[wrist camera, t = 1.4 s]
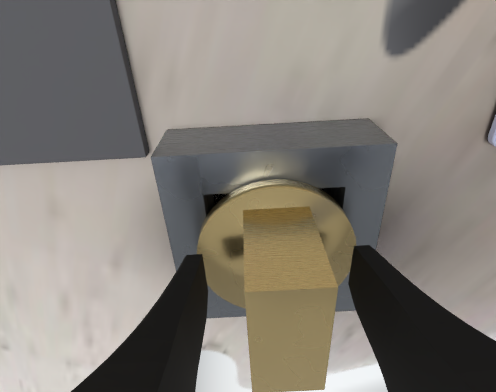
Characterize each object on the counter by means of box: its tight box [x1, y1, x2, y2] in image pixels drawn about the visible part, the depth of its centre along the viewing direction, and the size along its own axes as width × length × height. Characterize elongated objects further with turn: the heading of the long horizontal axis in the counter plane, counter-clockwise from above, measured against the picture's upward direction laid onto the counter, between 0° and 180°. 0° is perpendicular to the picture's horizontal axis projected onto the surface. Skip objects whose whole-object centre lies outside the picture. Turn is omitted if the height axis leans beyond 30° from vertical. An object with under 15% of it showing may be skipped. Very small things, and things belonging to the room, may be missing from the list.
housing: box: [151, 119, 397, 318], centre depth 15 cm, size 9×9×3 cm
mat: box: [0, 0, 149, 165], centre depth 12 cm, size 9×9×1 cm
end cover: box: [197, 179, 356, 392], centre depth 13 cm, size 7×7×8 cm
